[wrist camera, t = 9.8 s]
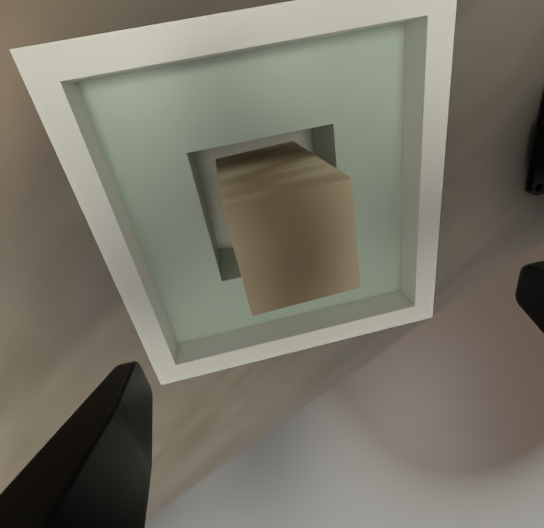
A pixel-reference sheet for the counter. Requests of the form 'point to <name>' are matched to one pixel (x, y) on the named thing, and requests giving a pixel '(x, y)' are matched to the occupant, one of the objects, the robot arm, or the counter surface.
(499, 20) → the counter surface
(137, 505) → the robot arm
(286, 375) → the counter surface
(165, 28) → the open box
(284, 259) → the maple peg
